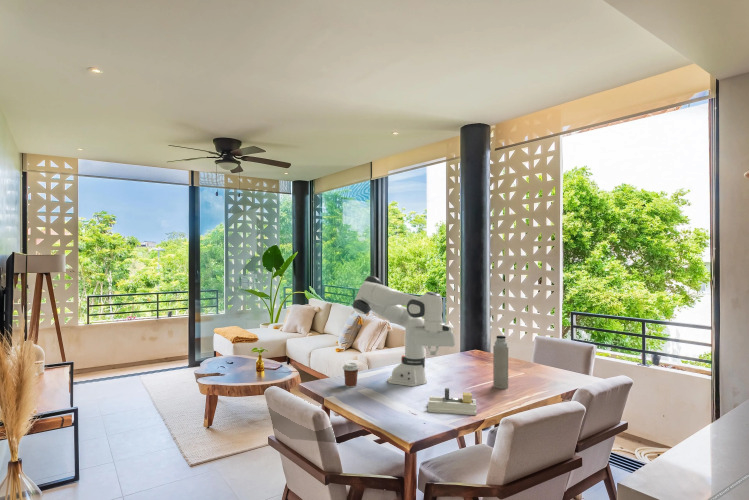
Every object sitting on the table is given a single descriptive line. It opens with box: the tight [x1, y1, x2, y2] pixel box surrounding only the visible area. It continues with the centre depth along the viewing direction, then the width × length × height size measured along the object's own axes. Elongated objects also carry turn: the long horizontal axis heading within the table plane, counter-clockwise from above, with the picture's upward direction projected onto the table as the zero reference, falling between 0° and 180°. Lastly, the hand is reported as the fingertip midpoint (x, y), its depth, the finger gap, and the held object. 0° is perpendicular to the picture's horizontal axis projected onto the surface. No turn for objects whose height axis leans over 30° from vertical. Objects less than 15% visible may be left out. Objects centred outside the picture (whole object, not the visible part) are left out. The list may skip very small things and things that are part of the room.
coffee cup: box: [342, 362, 360, 388], centre depth 245 cm, size 9×9×12 cm
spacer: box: [462, 392, 473, 403], centre depth 208 cm, size 4×4×6 cm
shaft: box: [442, 388, 462, 403], centre depth 209 cm, size 9×3×7 cm, turn 79°
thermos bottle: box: [492, 335, 509, 390], centre depth 245 cm, size 8×8×28 cm
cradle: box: [427, 395, 478, 416], centre depth 209 cm, size 22×12×4 cm, turn 79°
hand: (433, 355), depth 211 cm, fingers closed
